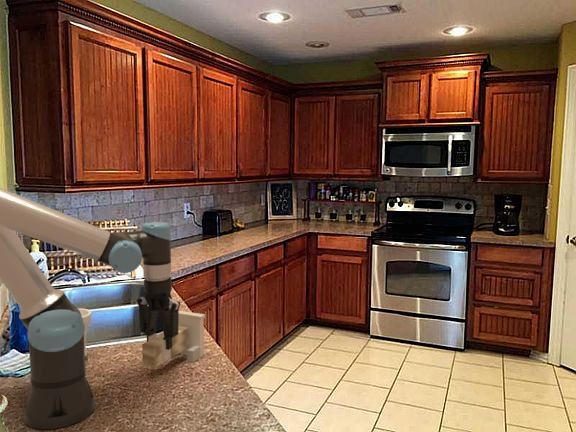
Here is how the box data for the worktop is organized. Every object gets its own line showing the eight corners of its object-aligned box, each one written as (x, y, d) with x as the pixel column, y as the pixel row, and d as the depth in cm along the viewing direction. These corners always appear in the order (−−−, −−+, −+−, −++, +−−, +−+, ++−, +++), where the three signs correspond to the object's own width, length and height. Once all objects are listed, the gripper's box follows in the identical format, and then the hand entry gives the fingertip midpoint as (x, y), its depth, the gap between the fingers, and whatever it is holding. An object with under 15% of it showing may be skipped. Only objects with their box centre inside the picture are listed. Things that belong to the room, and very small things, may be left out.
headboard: (194, 362, 143) (193, 320, 141) (164, 356, 147) (163, 315, 146) (205, 355, 149) (205, 314, 147) (176, 349, 153) (175, 309, 151)
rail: (154, 367, 131) (153, 346, 131) (142, 365, 133) (142, 344, 132) (188, 346, 146) (188, 327, 145) (178, 344, 147) (177, 325, 147)
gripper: (191, 277, 134) (192, 358, 137) (142, 272, 141) (144, 348, 143) (174, 284, 127) (176, 368, 130) (124, 277, 134) (127, 358, 136)
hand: (159, 358), depth 136 cm, fingers closed on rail, 4 cm apart
